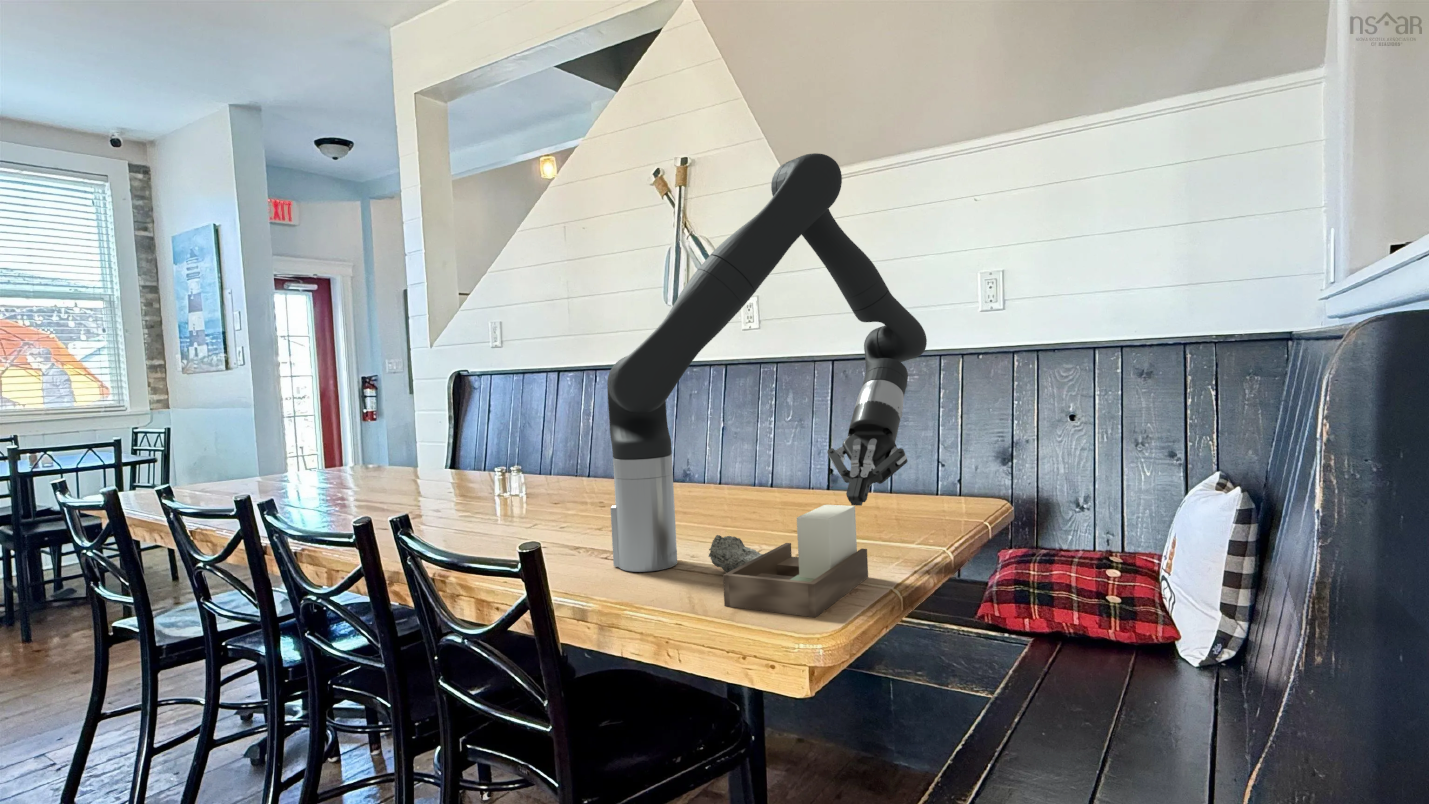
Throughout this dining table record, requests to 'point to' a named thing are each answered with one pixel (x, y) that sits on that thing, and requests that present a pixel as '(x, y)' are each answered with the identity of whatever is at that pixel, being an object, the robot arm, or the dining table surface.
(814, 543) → the brick
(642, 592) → the dining table surface
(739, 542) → the rock sample
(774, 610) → the box
